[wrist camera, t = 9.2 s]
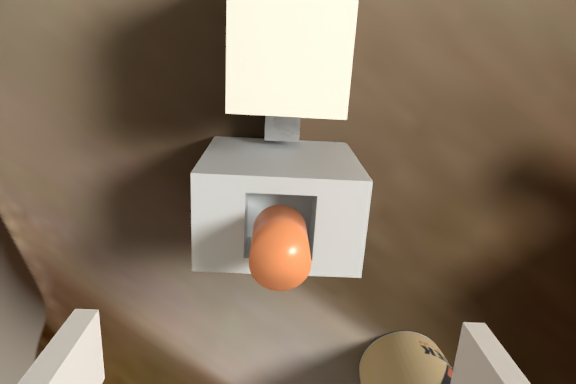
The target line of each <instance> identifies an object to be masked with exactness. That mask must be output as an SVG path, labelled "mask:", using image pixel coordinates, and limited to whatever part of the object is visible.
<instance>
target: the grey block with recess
mask: <svg viewBox="0 0 576 384" xmlns="http://www.w3.org/2000/svg"><path fill="white" fill-rule="evenodd" d="M372 185H373V181H372V179H371V178H370V176H369V175H368V174H367V172H366V171H365V169H364V168H363V166H362V165H361V163H360V162H359V160H358V159H357V158H356V156H355V155H354V153H353V152H352V150H351V149H350V147H349V146H348V144H347V143H343V142H322V141H302V140H299V142H286V141H265V140H264V139H262V138H242V137H222V136H215V137H214V138H213V140H212V141H211V143H210V144H209V146H208V147H207V149H206V150H205V152H204V153H203V155H202V156H201V158H200V159H199V161H198V162H197V164H196V165H195V167H194V168H193V170H192V171H191V241H192V271H196V272H222V273H249V274H251V272H250V269H249V255H250V248H251V240H252V232H253V225H254V222H255V219H256V217H257V216H258V215H259V213H261V212H262V211H263V210H264V209H266V208H268V207H270V206H274V205H286V206H289V207H292V208H294V209H295V210H297V211H298V212H299V213H300V214H301V215H302V217H303V218H304V220H305V223H306V228H307V235H308V241H309V248H310V254H311V261H312V264H311V270H310V272H309V275H308V276H328V277H354V278H361V276H362V267H363V259H364V251H365V243H366V234H367V226H368V218H369V210H370V201H371V193H372Z"/></svg>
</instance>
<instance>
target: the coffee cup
mask: <svg viewBox="0 0 576 384" xmlns="http://www.w3.org/2000/svg"><path fill="white" fill-rule="evenodd" d="M452 373H453V369H452V367H451V366H450V364H449V362H448V361H447V359H446V358H445V356H444V355H443V354H442V352H441V351H440V349H439V348H438V347H437V345H436V344H435V343H434V342H433V341H432V340H431V339H429V338H428V337H426V336H424V335H422V334H420V333H416V332H411V331H398V332H393V333H389V334H386V335H384V336H382V337H380V338H378V339H377V340H375V341H374V342H373V343H371V344H370V345H369V346H368V348H367V349H366V350H365V352H364V354H363V355H362V358H361V361H360V365H359V374H360V383H361V384H450V383H451V378H452Z"/></svg>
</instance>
